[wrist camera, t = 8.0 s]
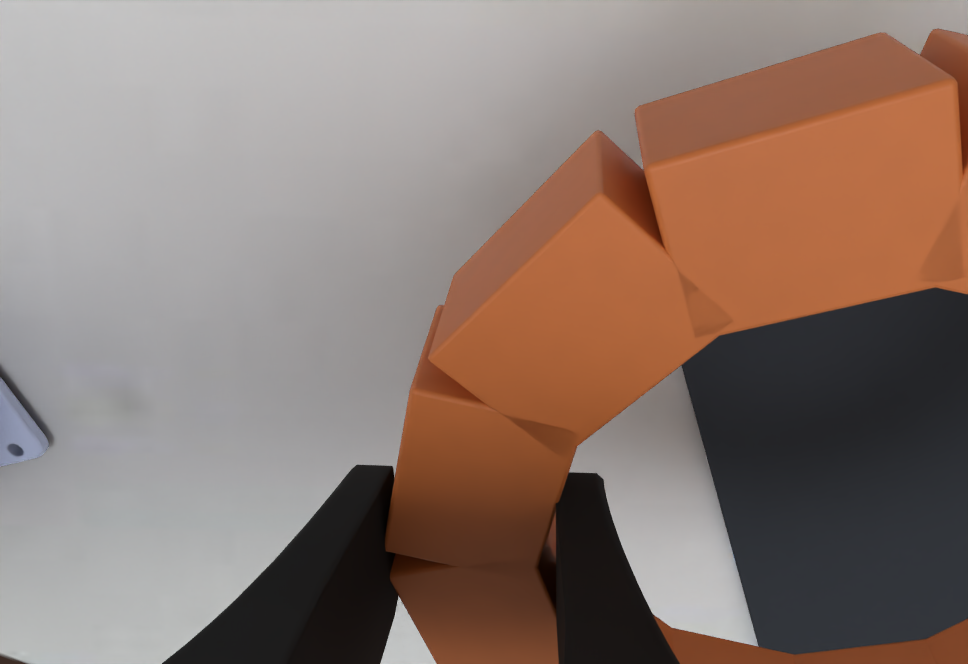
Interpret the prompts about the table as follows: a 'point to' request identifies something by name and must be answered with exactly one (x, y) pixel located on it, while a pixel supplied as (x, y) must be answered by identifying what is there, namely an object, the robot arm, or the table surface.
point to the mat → (844, 469)
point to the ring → (664, 314)
